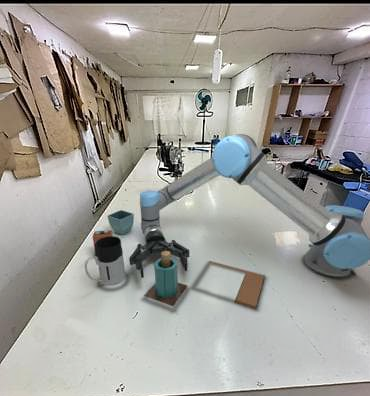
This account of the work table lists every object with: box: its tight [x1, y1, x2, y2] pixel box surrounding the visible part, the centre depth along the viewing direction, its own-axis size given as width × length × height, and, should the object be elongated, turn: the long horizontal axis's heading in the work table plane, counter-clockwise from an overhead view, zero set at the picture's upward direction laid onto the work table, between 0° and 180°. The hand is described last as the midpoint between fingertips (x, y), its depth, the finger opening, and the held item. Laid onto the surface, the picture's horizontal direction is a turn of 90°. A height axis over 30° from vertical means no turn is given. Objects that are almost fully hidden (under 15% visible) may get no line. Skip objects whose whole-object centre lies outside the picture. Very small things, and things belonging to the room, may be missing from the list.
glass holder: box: [84, 235, 126, 286], centre depth 73 cm, size 9×14×15 cm, turn 155°
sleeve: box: [153, 257, 179, 298], centre depth 70 cm, size 6×6×10 cm
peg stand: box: [143, 251, 189, 308], centre depth 70 cm, size 10×10×15 cm
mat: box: [208, 260, 265, 310], centre depth 78 cm, size 20×16×1 cm
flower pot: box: [106, 209, 135, 236], centre depth 110 cm, size 9×9×9 cm
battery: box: [92, 229, 114, 257], centre depth 93 cm, size 4×7×10 cm, turn 100°
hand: (164, 270), depth 72 cm, fingers open, 13 cm apart
